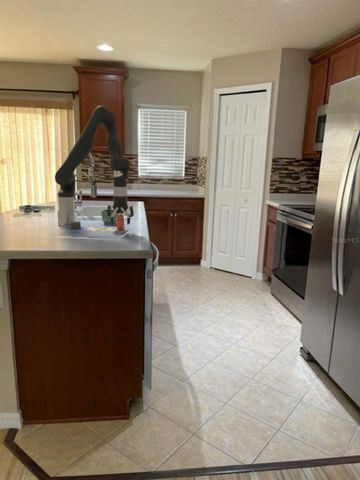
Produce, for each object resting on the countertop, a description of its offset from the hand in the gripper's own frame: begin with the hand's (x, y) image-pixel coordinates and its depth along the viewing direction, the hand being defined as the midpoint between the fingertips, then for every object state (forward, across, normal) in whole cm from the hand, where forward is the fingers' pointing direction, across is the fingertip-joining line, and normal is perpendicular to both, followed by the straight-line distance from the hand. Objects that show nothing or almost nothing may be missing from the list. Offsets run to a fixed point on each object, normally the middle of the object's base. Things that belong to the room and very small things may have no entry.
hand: (120, 224), depth 196 cm
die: (+5, -26, 0) cm, 26 cm away
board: (+5, -8, 0) cm, 9 cm away
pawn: (+3, 0, 0) cm, 3 cm away
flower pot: (+5, -12, +20) cm, 24 cm away
